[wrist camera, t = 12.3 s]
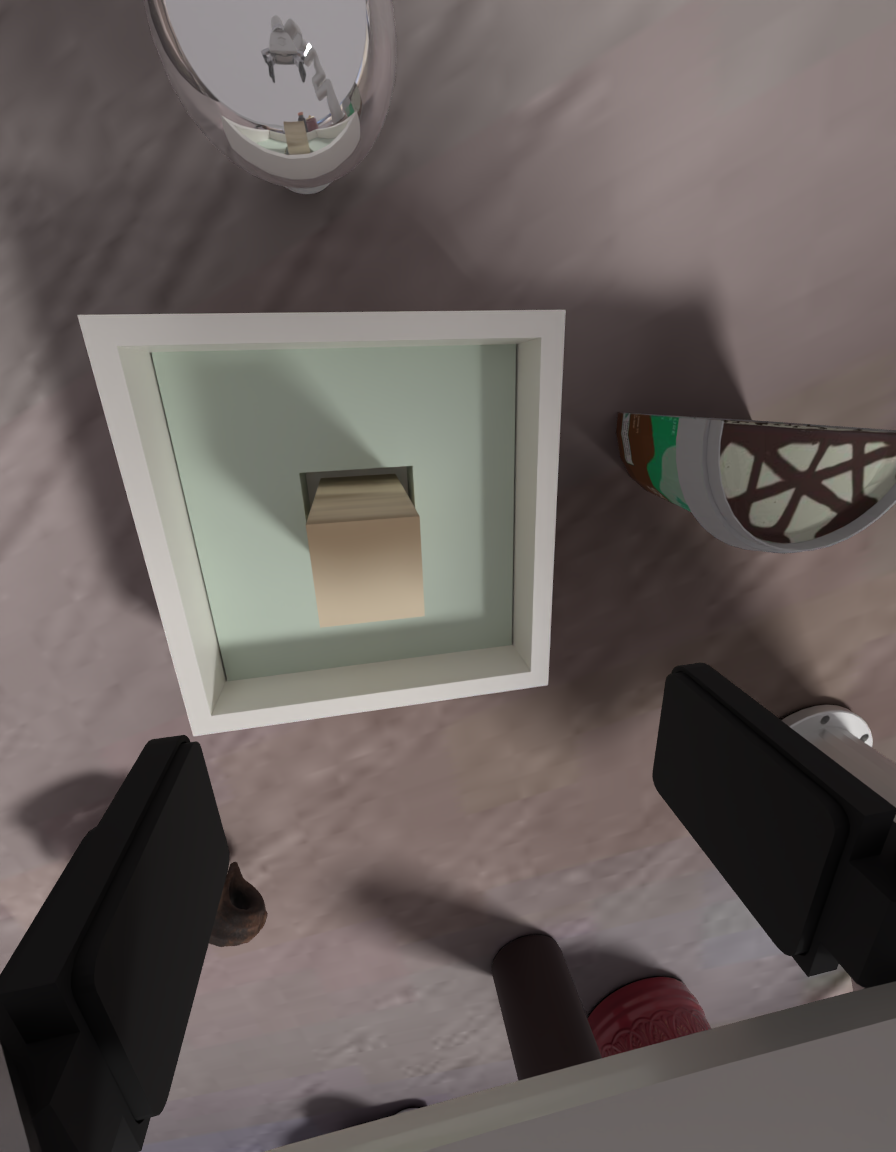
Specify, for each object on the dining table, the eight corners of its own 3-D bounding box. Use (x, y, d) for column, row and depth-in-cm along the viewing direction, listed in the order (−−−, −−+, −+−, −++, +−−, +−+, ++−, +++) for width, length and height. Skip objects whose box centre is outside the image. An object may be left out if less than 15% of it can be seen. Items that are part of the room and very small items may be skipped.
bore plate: (497, 622, 31) (511, 644, 28) (239, 653, 29) (227, 681, 26) (497, 349, 25) (516, 344, 23) (175, 357, 23) (151, 352, 20)
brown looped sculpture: (107, 906, 35) (12, 982, 27) (150, 773, 37) (72, 807, 29) (269, 943, 35) (222, 1031, 27) (305, 809, 37) (270, 854, 29)
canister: (638, 1057, 56) (754, 1326, 40) (556, 1041, 52) (651, 1336, 36) (712, 985, 54) (868, 1240, 38) (633, 961, 49) (773, 1240, 33)
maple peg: (399, 543, 28) (424, 616, 19) (329, 549, 27) (320, 627, 18) (395, 473, 27) (419, 516, 18) (320, 478, 26) (305, 525, 17)
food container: (579, 512, 31) (677, 564, 22) (594, 410, 29) (711, 419, 19) (746, 515, 33) (898, 562, 24) (772, 421, 31) (949, 433, 22)
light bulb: (369, 268, 24) (387, 163, 13) (217, 228, 22) (90, 68, 11) (390, 93, 22) (433, -212, 11) (224, 35, 20) (73, -398, 9)
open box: (508, 627, 33) (548, 685, 26) (227, 661, 30) (193, 736, 23) (512, 329, 26) (565, 309, 20) (152, 336, 23) (77, 314, 17)
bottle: (573, 942, 46) (720, 1304, 28) (528, 987, 47) (642, 1363, 29) (521, 924, 44) (645, 1307, 25) (475, 972, 45) (563, 1371, 27)
